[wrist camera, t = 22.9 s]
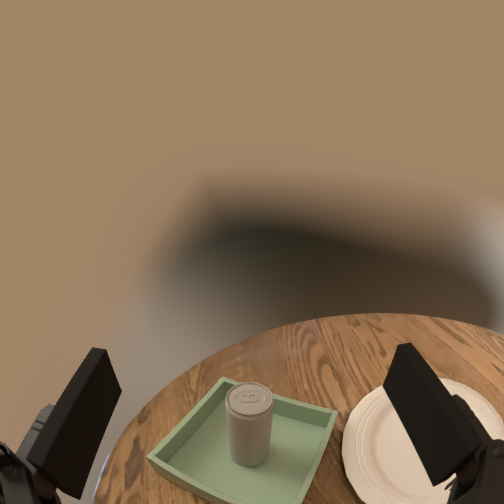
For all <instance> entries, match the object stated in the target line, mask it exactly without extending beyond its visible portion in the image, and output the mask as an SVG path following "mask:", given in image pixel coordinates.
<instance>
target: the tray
mask: <svg viewBox="0 0 504 504" xmlns="http://www.w3.org/2000/svg"><path fill="white" fill-rule="evenodd" d="M237 384H240V383H239V382H237V381H234V380H231V379H228V378H226V377H223V376H222V377H221V378H220V380H219V381H218V382H217V383H216V384H215V385H214V386H213V387H212V388H211V390H210V391H209V392H208V393H207V394H206V395H205V396H204V397H203V398H202V399H201V400H200V402H199V403H198V404H197V405H196V406H195V407H194V408H193V409H192V410H191V411H190V412H189V413H188V414H187V415H186V416H185V418H184V419H183V420H182V421H181V422H180V423H179V424H178V425H177V426H176V427H175V428H174V429H173V430H172V431H171V432H170V433H169V434H168V435H167V436H166V437H165V438H164V439H163V440H162V441H161V442H160V443H159V444H158V445H157V446H156V447H155V448H154V449H153V450H152V451H151V452H150V453H149V454H148V455H147V456H146V458H147V459H148V461H149V463H150V464H151V466H152V467H153V469H154V470H155V471H156V472H157V473H159V474H160V475H162V476H164V477H165V478H167V479H168V480H170V481H172V482H173V483H175V484H177V485H178V486H180V487H182V488H184V489H186V490H187V491H189V492H191V493H193V494H195V495H197V496H199V497H201V498H203V499H205V500H207V501H209V502H211V503H213V504H302V502H303V500H304V497H305V495H306V493H307V491H308V489H309V487H310V485H311V482H312V480H313V478H314V476H315V473H316V471H317V468H318V466H319V464H320V461H321V459H322V456H323V454H324V451H325V448H326V446H327V443H328V440H329V438H330V435H331V432H332V429H333V426H334V423H335V420H336V417H337V414H338V411H337V410H333V409H328V408H324V407H320V406H316V405H312V404H308V403H304V402H300V401H296V400H293V399H289V398H286V397H282V396H279V395H276V394H272V395H273V399H274V409H273V419H272V428H271V437H270V445H269V453H268V456H267V458H266V459H265V461H264V462H262V463H261V464H258V465H256V466H245V465H242V464H239V463H238V462H236V461H235V460H234V459H233V458H232V457H231V454H230V447H229V438H228V429H227V419H226V408H225V400H226V396H227V393H228V391H229V390H230V389H231V388H232V387H233V386H235V385H237Z"/></svg>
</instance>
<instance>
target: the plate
mask: <svg viewBox="0 0 504 504" xmlns="http://www.w3.org/2000/svg"><path fill="white" fill-rule="evenodd" d="M438 378H439V377H438ZM439 379H440V381H441V382H442V383H443V385H444V386H445V387H446V389H447V390H448V391H449V393H450V394H451V395H455V394H457V395H459V396H460V397H461V398H463V399H464V400H465V401H466V402H467V404H468V405H469V406H470V409H472V411H473V412H474V413H475V416H477V418H478V419H479V420H480V422H481V423H482V425H483V426H484V428H485V429H486V431H487V432H488V434H489V435H490V436H491V438H492V439H493V440H495V439H501V440H504V423H503V421H502V418H501V417H500V415H499V414H498V412H497V411H496V409H495V408H494V407H493V405H492V404H491V403H490V402H489V401H487V400H486V399H485V398H484V397H483V396H482V395H481V394H480V393H478V392H476V391H475V390H473V389H471V388H469V387H468V386H466V385H464V384H461V383H458V382H455V381H453V380H450V379H445V378H439ZM382 386H383V385H382ZM382 386H379V387H377V388H376V389H375V390H373V391H372V392H371V393H369V394H368V395H366V396H365V397H364V398H363V399H362V400H361V401H360V402H359V404H358V405H357V406H356V407H355V409H354V410H353V411H352V412H351V414H350V417H349V419H348V422H347V424H346V426H345V429H344V431H343V441H342V451H341V454H342V459H343V464H344V468H345V473H346V477H347V479H348V480H349V482H350V484H351V485H352V487H353V489H354V491H355V492H356V494H357V496H358V497H359V499H360V500H362V501H363V502H364V503H365V504H447V501H448V498H449V495H450V491H449V489H450V488H451V487H452V486H450V487H449V488H448V489H447V490H444V489H445V487H446V485H447V484H448V483H449V482H451V481H452V480H453V479H454V478H455V477H456V474H455V473H454V474H453V475H452V476H451V477H450V478H449V479H448V480H446V481H444V482H442V483H440V484H438V485H436V486H434V487H433V486H432V484H431V481H430V479H429V477H428V475H427V473H426V471H425V468H424V466H423V464H422V462H421V460H420V458H419V456H418V454H417V452H416V450H415V448H414V446H413V444H412V442H411V440H410V438H409V436H408V434H407V432H406V430H405V428H404V426H403V424H402V422H401V420H400V418H399V416H398V415H397V413H396V411H395V409H394V407H393V405H392V403H391V401H390V400H389V398H388V396H387V394H386V392H385V390H384V388H383V387H382Z"/></svg>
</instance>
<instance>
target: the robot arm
mask: <svg viewBox="0 0 504 504" xmlns="http://www.w3.org/2000/svg"><path fill="white" fill-rule="evenodd" d="M382 387H383V388H384V390H385V392H386V394H387V396H388V398H389V400H390V401H391V403H392V405H393V407H394V409H395V411H396V413H397V415H398V416H399V418H400V420H401V422H402V424H403V426H404V428H405V430H406V432H407V434H408V436H409V438H410V440H411V442H412V444H413V446H414V448H415V450H416V452H417V454H418V456H419V458H420V460H421V462H422V464H423V466H424V468H425V471H426V473H427V475H428V477H429V479H430V481H431V484H432V486H433V487H434V486H436V485H438V484H440V483H442V482H444V481H446V480H448V479H449V478H450V477H451V476H452V475H453V474H454V473H455V474H456V477H455V478H454V479H453V480H452V481H451V482H449V483H448V484H447V485H446V487H445V489H444V490H447V489H448V488H449V487H450V486H452V487H451V488H450V489H449V491H450V495H449V498H448V501H447V504H504V440H501V439H495V440H493V439H492V438H491V436H490V435H489V434H488V432H487V431H486V429H485V428H484V426H483V425H482V423H481V422H480V420H479V419H478V418H477V416H475V413H474V412H473V411H472V409H470V406H469V405H468V404H467V402H466V401H465V400H464V399H463V398H461V397H460V396H459V395H457V394H455V395H451V394H450V393H449V391H448V390H447V389H446V387H445V386H444V385H443V383H442V382H441V381H440V379H439V378H438V377H437V375H436V374H435V373H434V371H433V370H432V369H431V367H430V366H429V365H428V364H427V362H426V361H425V360H424V358H423V357H422V356H421V355H420V353H419V352H418V351H417V350H416V348H415V347H414V346H413V345H412V343H406V344H400V345H398V346H397V349H396V352H395V355H394V358H393V360H392V363H391V366H390V369H389V371H388V374H387V376H386V379H385V381H384V384H383V386H382ZM121 392H122V390H121V388H120V386H119V383H118V380H117V378H116V375H115V373H114V370H113V367H112V365H111V362H110V359H109V356H108V353H107V350H106V349H99V348H92V349H91V350H90V352H89V353H88V355H87V356H86V358H85V359H84V361H83V362H82V364H81V365H80V367H79V368H78V370H77V371H76V373H75V374H74V376H73V377H72V379H71V380H70V382H69V384H68V385H67V387H66V389H65V390H64V392H63V393H62V395H61V396H60V398H59V400H58V401H57V403H56V405H55V406H53V405H51V404H48V405H47V406H46V407H44V408H43V409H42V410H41V411H40V412H39V414H38V416H37V417H36V419H35V420H36V421H34V422H33V424H32V426H31V428H30V429H29V431H28V433H27V434H26V436H25V438H24V440H23V442H22V443H21V445H20V447H19V449H18V451H17V452H16V454H14V453H13V452H12V451H11V450H10V449H9V448H8V447H7V446H6V444H4V443H2V442H0V504H62V503H61V501H60V498H59V496H58V495H57V493H56V488H58V489H60V490H61V491H62V492H63V493H65V494H67V495H69V496H72V497H74V498H76V499H79V500H80V498H81V496H82V493H83V489H84V487H85V484H86V481H87V478H88V475H89V472H90V470H91V467H92V464H93V461H94V459H95V456H96V453H97V451H98V448H99V445H100V443H101V440H102V438H103V435H104V433H105V430H106V428H107V425H108V423H109V421H110V418H111V416H112V413H113V411H114V409H115V406H116V404H117V402H118V399H119V397H120V395H121Z"/></svg>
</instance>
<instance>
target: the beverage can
mask: <svg viewBox="0 0 504 504" xmlns="http://www.w3.org/2000/svg"><path fill="white" fill-rule="evenodd" d="M225 408H226V419H227V429H228V438H229V447H230V454H231V457H232V458H233V459H234V460H235V461H236V462H238V463H239V464H242V465H245V466H256V465H258V464H261V463H262V462H264V461H265V459H266V458H267V456H268V453H269V445H270V437H271V428H272V419H273V409H274V399H273V395H272V392H271V391H270V390H269V389H268V388H267V387H266V386H264V385H262V384H260V383H256V382H243V383H240V384H237V385H235V386H233V387H232V388H231V389H230V390H229V391H228V393H227V396H226V400H225Z"/></svg>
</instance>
